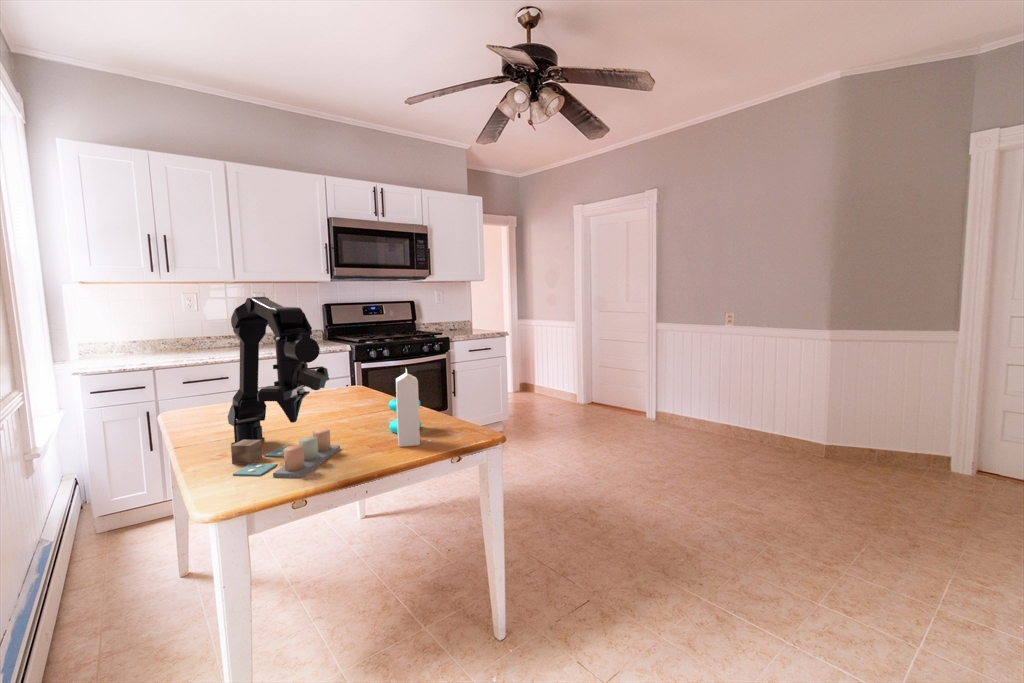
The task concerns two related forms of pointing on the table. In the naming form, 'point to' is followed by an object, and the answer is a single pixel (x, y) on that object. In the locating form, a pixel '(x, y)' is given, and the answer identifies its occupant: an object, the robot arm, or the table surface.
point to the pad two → (255, 469)
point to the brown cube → (246, 451)
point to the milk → (407, 410)
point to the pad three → (276, 452)
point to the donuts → (394, 423)
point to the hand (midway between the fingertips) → (293, 422)
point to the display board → (307, 464)
